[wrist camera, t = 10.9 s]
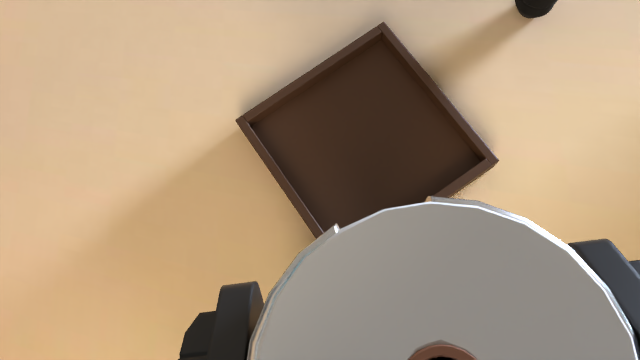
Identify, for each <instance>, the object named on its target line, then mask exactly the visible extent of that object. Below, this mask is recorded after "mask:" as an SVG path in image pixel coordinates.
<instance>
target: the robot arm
mask: <svg viewBox="0 0 640 360" xmlns="http://www.w3.org/2000/svg"><path fill="white" fill-rule="evenodd" d="M567 245H568V246H569V247H571V248H572V249H573V250H574V251H575V252H576V253H577V254H578V256H579V257H580V258H581V259H582V260H583V261H584V262H585V263H586V264H587V265H588V266H589V267H590V268H591V269H592V270H593V271H594V273H595V274H596V275H597V276H598V277H599V278H600V279H601V280H602V281H603V282H604V283H605V284H606V285H607V286H608V287H609V289H610V291H611V292H612V294H613V296H614V298H615V299H616V301H617V303H618V305H619V306H620V308H621V310H622V312H623V313H624V315H625V317H626V319H627V320H628V322H629V324H630V326H631V327H632V329H633V331H634V332H635V334H636V336H637V338H638V341H639V345H640V260H637V261H629V262H628V261H627V260H626V258H625V257H624V256H623V255H622V254H621V252H620V251H619V250H618V249H617V248H616V247H615V245H614V244H613V243H612V242H611V241H609V240H608V239H599V240H591V241H583V242H575V243H569V244H567ZM263 307H264V303H263V299H262V295H261V292H260V288H259V285H258V283H257V282H256V281H255V282H247V283H239V284H231V285H223V286H222V287H221V289H220V293H219V298H218V303H217V308H216V311H212V312H204V313H199V315H198V316H197V317H196V319H195V320H194V322H193V323H192V324H191V326H190V327H189V328H188V330H187V331H186V332H185V335H184V339H183V343H182V347H181V351H180V354H179V355H180V359H178V360H247V355H248V349H249V342H250V338H251V336H252V333H253V331H254V329H255V326H256V324H257V321H258V319H259V316H260V314H261V311H262V309H263Z"/></svg>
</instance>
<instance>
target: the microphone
mask: <svg viewBox="0 0 640 360" xmlns="http://www.w3.org/2000/svg"><path fill="white" fill-rule="evenodd" d="M556 2H557V0H515V3H516V6H517V8H518V10H519V12H520V14H521V15H522V16H524V17H526V18H536V17H540V16H543V15H545V14H547V13H548V12H549V11H550V10H551V9H552V7H553V6H554V4H555V3H556Z"/></svg>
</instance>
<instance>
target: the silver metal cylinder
mask: <svg viewBox="0 0 640 360" xmlns="http://www.w3.org/2000/svg"><path fill="white" fill-rule="evenodd" d="M247 360H640V345H639V341H638V338H637V336H636V334H635V332H634V331H633V329H632V327H631V326H630V324H629V322H628V320H627V319H626V317H625V315H624V313H623V312H622V310H621V308H620V306H619V305H618V303H617V301H616V299H615V298H614V296H613V294H612V292H611V291H610V289H609V287H608V286H607V285H606V284H605V283H604V282H603V281H602V280H601V279H600V278H599V277H598V276H597V275H596V274H595V273H594V271H593V270H592V269H591V268H590V267H589V266H588V265H587V264H586V263H585V262H584V261H583V260H582V259H581V258H580V257H579V256H578V254H577V253H576V252H575V251H574V250H573V249H572V248H571V247H569V246H568V245H566V244H565V243H563V242H562V241H560V240H559V239H557V238H556V237H554V236H553V235H551V234H550V233H548V232H547V231H545V230H544V229H542V228H541V227H539V226H538V225H536V224H534V223H533V222H531V221H530V220H528V219H527V218H524V217H522V216H519V215H516V214H513V213H510V212H508V211H505V210H502V209H499V208H496V207H494V206H491V205H488V204H485V203H482V202H480V201H475V200H464V199H454V198H444V197H433V196H428V197H427V199H426V201H425V202H424V203H418V204H412V205H406V206H400V207H394V208H388V209H383V210H381V211H379V212H376V213H374V214H372V215H370V216H368V217H365V218H363V219H361V220H359V221H357V222H355V223H352V224H350V225H348V226H346V227H344V228H341V229H340V228H339V226H338V224H337V223H336V224H334V225H333V226H332V227H331V228H329V229H328V230H327V231H326V232H324V233H323V234H322V235H321V236H319V237H318V238H317V239H316V240H314V241H313V242H312V243H311V244H309V245H308V246H307V247H306V248H304V249H303V250H302V251H301V252H299V253H298V255H297V256H296V257H295V259H294V260H293V261H292V263H291V264H290V265H289V267H288V268H287V269H286V271H285V272H284V273H283V275H282V276H281V278H280V279H279V280H278V282H277V283H276V284H275V286H274V287H273V288H272V290H271V291H270V292H269V294H268V297H267V299H266V302H265V304H264V307H263V309H262V311H261V314H260V316H259V319H258V321H257V324H256V326H255V329H254V331H253V333H252V336H251V338H250V342H249V349H248V355H247Z"/></svg>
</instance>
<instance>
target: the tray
mask: <svg viewBox="0 0 640 360" xmlns="http://www.w3.org/2000/svg"><path fill="white" fill-rule="evenodd" d="M236 122H237V124H238V125H239V127H240V128H241V130H242V131H243V133H244V134H245V136H246V137H247V139H248V140H249V142H250V143H251V144H252V146H253V147H254V149H255V150H256V152H257V153H258V155H259V156H260V158H261V159H262V160H263V162H264V163H265V165H266V166H267V168H268V169H269V171H270V172H271V174H272V175H273V176H274V178H275V179H276V181H277V182H278V184H279V185H280V187H281V188H282V190H283V191H284V192H285V194H286V195H287V197H288V198H289V200H290V201H291V203H292V204H293V206H294V207H295V208H296V210H297V211H298V213H299V214H300V216H301V217H302V219H303V220H304V222H305V223H306V224H307V226H308V227H309V229H310V230H311V232H312V233H313V235H314V236H315V238H316V239H317V238H318V237H319V236H321V235H322V234H323V233H324V232H326V231H327V230H328V229H329V228H331V227H332V226H333V225H334V224H336V223H337V224H338V226H339V228H340V229H341V228H344V227H346V226H348V225H350V224H352V223H355V222H357V221H359V220H361V219H363V218H365V217H368V216H370V215H372V214H374V213H376V212H379V211H381V210H383V209H388V208H394V207H400V206H406V205H412V204H418V203H424V202H425V201H426V199H427V197H428V196H433V197H444V198H450V197H451V196H453V195H454V194H455V193H457V192H458V191H460V190H461V189H463V188H464V187H465V186H467V185H468V184H470V183H471V182H472V181H474V180H475V179H477V178H478V177H480V176H481V175H482V174H484V173H485V172H487V171H488V170H490V169H491V168H492V167H494V165H495V164H496V163H497V162H498V161H499V160H498V158H497V157H496V156H495V155H494V154H493V152H492V151H491V150H490V149H489V148H488V146H487V145H486V144H485V143H484V142H483V140H482V139H481V138H480V137H479V136H478V134H477V133H476V132H475V131H474V130H473V128H472V127H471V126H470V125H469V124H468V122H467V121H466V120H465V119H464V117H463V116H462V115H461V114H460V113H459V111H458V110H457V109H456V108H455V107H454V105H453V104H452V103H451V102H450V101H449V99H448V98H447V97H446V96H445V95H444V93H443V92H442V91H441V90H440V89H439V87H438V86H437V85H436V84H435V83H434V81H433V80H432V79H431V78H430V77H429V75H428V74H427V73H426V72H425V71H424V69H423V68H422V67H421V66H420V64H419V63H418V62H417V61H416V60H415V58H414V57H413V56H412V55H411V54H410V52H409V51H408V50H407V49H406V48H405V46H404V45H403V44H402V43H401V42H400V40H399V39H398V38H397V37H396V36H395V34H394V33H393V32H392V31H391V30H390V28H389V27H388V26H387V25H386V24H385V22H382V23H381V24H379V25H378V26H377V27H375V28H373V29H372V30H370V31H369V32H367V33H366V34H364V35H363V36H361V37H360V38H358V39H357V40H355V41H354V42H352V43H351V44H349V45H348V46H346V47H345V48H343V49H342V50H340V51H339V52H337V53H336V54H334V55H333V56H331V57H330V58H328V59H327V60H325V61H324V62H322V63H321V64H319V65H318V66H316V67H315V68H313V69H312V70H310V71H309V72H307V73H306V74H304V75H303V76H301V77H300V78H298V79H297V80H295V81H294V82H292V83H290V84H289V85H287V86H286V87H284V88H283V89H281V90H280V91H278V92H277V93H275V94H274V95H272V96H271V97H269V98H268V99H266V100H265V101H263V102H262V103H260V104H259V105H257V106H256V107H254V108H253V109H251V110H250V111H248V112H247V113H245V114H244V115H243V116H241V117H239V118H238V119H236Z"/></svg>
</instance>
